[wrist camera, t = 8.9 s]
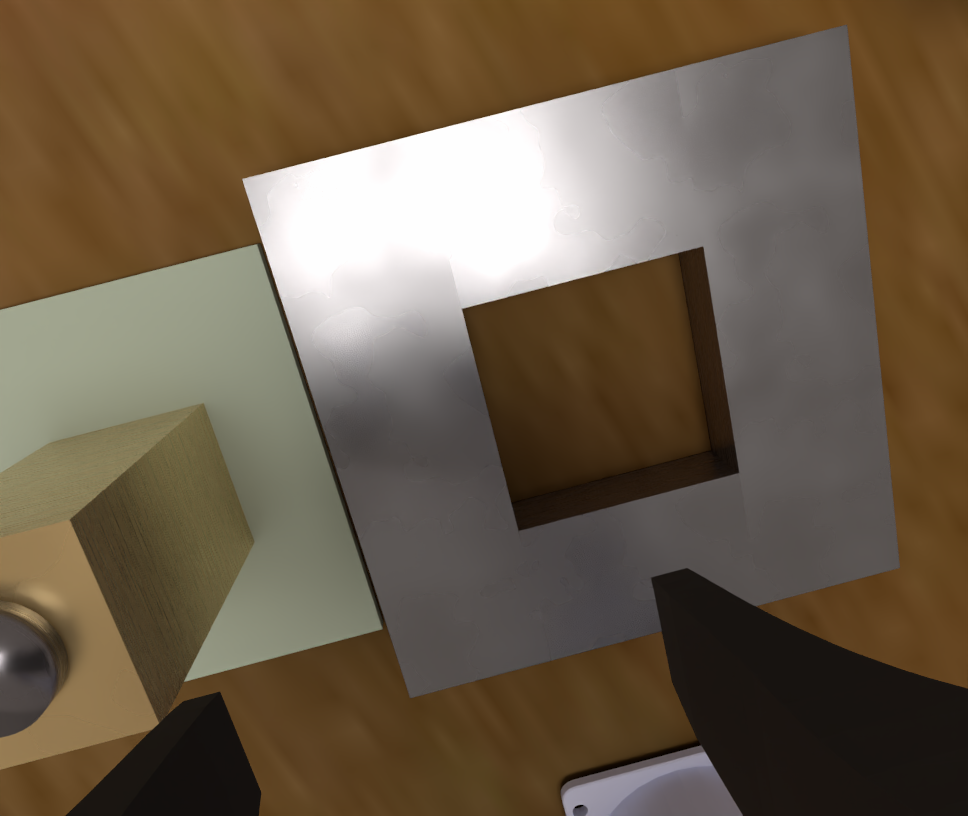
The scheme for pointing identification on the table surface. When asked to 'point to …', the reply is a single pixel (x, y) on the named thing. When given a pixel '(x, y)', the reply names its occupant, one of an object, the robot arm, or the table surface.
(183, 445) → the end cover
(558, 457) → the table surface
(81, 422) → the mat
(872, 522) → the square plate with hole
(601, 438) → the table surface
